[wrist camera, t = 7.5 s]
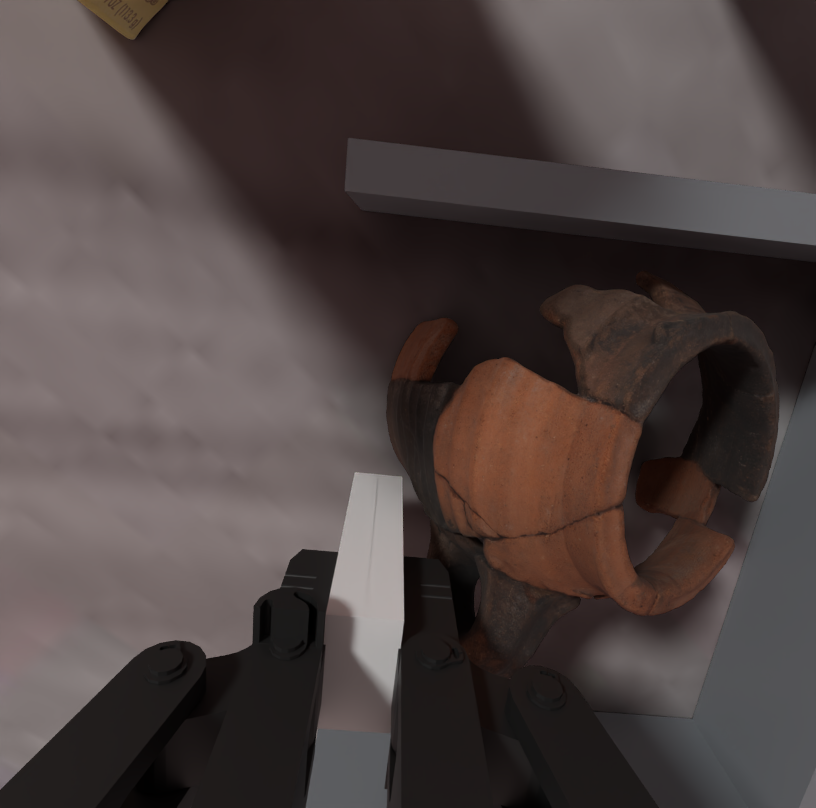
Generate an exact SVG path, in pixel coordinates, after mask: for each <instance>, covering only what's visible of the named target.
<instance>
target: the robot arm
mask: <svg viewBox="0 0 816 808" xmlns="http://www.w3.org/2000/svg"><path fill="white" fill-rule="evenodd" d="M450 586H451V585H450V579H449V572H448V571H447V569H446V568H445V567H444V566H443V564H442V563H441V562H440V560H439V559H428V558H416V557H405V556H403V493H402V476H391V475H380V474H369V473H358V472H355V474H354V479H353V484H352V489H351V494H350V498H349V503H348V508H347V513H346V518H345V523H344V528H343V533H342V537H341V542H340V547H339V552H329V551H317V550H305V549H302V550H301V551H300V552H299V553H298V554H297V555H296V556H294V557H293V558H292V559H291V560H290V562H289V565H288V568H287V571H286V573H285V576H284V579H283V582H282V585H281V587H280V589H276V590H273V591H270V592H268V593H267V594H265V595H263V596H262V597H260V598H259V600H258V601H257V602H256V604H255V605H254V613H253V643H252V645H251V646H249V647H248V648H246V649H244V650H241V651H239V652H237V653H233V654H229V655H225V656H219V657H213V658H207V659H206V655H205V653H204V652H203V651H202V649H201V648H200V647H199V646H197V645H195V644H193V643H191V642H186V641H177V640H175V641H169V642H163V643H159V644H157V645H154V646H152V647H149V648H147V649H145V650H144V651H142V652H141V653H140V654H138V655H137V656H136V657H134V658H133V659H132V660H131V661H130V662H129V663H128V664H127V665H126V666H125V667H124V668H123V669H122V670H121V671H120V672H119V673H118V674H117V675H116V676H115V677H114V678H113V679H112V680H111V681H110V682H109V683H108V684H107V685H106V686H105V687H104V688H103V689H102V690H101V691H100V692H99V693H98V694H97V695H96V696H95V697H94V698H93V699H92V700H91V701H90V702H89V703H88V704H87V705H86V706H85V707H84V708H83V709H82V710H81V711H80V712H79V713H78V714H76V715H75V716H74V717H73V718H72V719H71V720H70V721H69V722H68V723H67V724H66V725H65V726H64V727H63V728H62V729H61V730H60V731H59V732H58V733H57V734H56V735H55V736H54V737H53V738H52V739H51V740H50V741H49V742H48V743H47V744H46V745H45V746H44V747H43V748H42V749H41V750H40V751H39V752H38V753H37V754H36V755H35V756H34V757H33V758H32V759H31V760H30V761H29V762H28V763H27V764H26V765H25V766H24V767H23V768H22V769H21V770H20V771H19V772H18V773H17V774H16V775H15V776H14V777H13V778H12V779H11V780H10V781H9V782H8V783H7V784H6V785H5V786H4V787H3V788H2V789H1V790H0V808H306V802H307V796H308V791H309V785H310V779H311V773H312V767H313V761H314V755H315V742H316V732H317V729H332V730H346V731H360V732H375V733H389V734H390V731H391V739H390V747H389V755H388V763H387V771H386V779H385V787H384V789H387V808H659V807H658V805H657V804H656V802H655V801H654V800H653V798H652V797H651V795H650V794H649V792H648V791H647V789H646V788H645V786H644V785H643V784H642V782H641V781H640V779H639V778H638V776H637V775H636V773H635V772H634V770H633V769H632V768H631V766H630V765H629V763H628V762H627V760H626V759H625V757H624V756H623V754H622V753H621V752H620V750H619V749H618V747H617V746H616V744H615V743H614V741H613V740H612V738H611V737H610V736H609V734H608V733H607V731H606V730H605V728H604V727H603V725H602V724H601V722H600V721H599V720H598V718H597V717H596V715H595V714H594V712H593V711H592V709H591V708H590V706H589V705H588V704H587V702H586V701H585V699H584V698H583V696H582V695H581V693H580V692H579V690H578V689H577V688H576V687H575V686H574V685H573V684H572V683H571V682H570V680H569V679H567V678H566V677H564V676H563V675H561V674H560V673H558V672H556V671H554V670H551V669H548V668H545V667H542V666H527V667H523V668H520V669H518V670H517V671H516V672H515V673H514V674H513V675H512V676H511V679H507V678H504V677H501V676H498V675H495V674H492V673H490V672H488V671H485V670H483V669H481V668H480V667H478V666H477V665H475V664H474V663H473V662H471V661H470V660H469V658H468V655H467V653H466V651H465V649H464V648H463V647H462V646H461V645H460V643H459V637H458V631H457V624H456V618H455V611H454V605H453V600H452V592H451V588H450Z"/></svg>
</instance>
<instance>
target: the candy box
mask: <svg viewBox="0 0 816 808" xmlns="http://www.w3.org/2000/svg"><path fill="white" fill-rule="evenodd" d="M78 1H79V2H80V3H82V4H83V5H84V6H86V7H87V8H88V9H90V10H91V11H92V12H93V13H95V14H96V15H97V16H99V17H100V18H101V19H102V20H104V21H105V22H106V23H108V24H109V25H110V26H111V27H113V28H114V29H115V30H117V31H118V32H119V33H121V34H122V35H123V36H125V37H126V38H127V39H131V40H133V39H135V38H136V37H137V35H138V34H139V32H140V31H141V30H142V28H143V27H144V26H145V25H146V24H147V23H148V22H149V21H150V19H151V18H152V17H153V16H154V15H155V14H156V13H157V12H158V11H160V9H161V8H162V7H163V6H164V5H165V4H166V3H167V2H168V1H169V0H78Z"/></svg>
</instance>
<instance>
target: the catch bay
mask: <svg viewBox="0 0 816 808" xmlns="http://www.w3.org/2000/svg"><path fill="white" fill-rule="evenodd" d="M344 191H345V192H346V193H347V194H348V195H349V196H350V198H351V199H352V200H353V201H354V202H355V203H356V204H357V205H358V207H359V208H360V209H361V210H364V211H372V212H381V213H390V214H399V215H407V216H416V217H425V218H434V219H442V220H451V221H460V222H468V223H477V224H486V225H495V226H503V227H512V228H521V229H530V230H538V231H547V232H556V233H565V234H573V235H582V236H591V237H599V238H608V239H617V240H626V241H634V242H643V243H652V244H661V245H669V246H678V247H687V248H696V249H704V250H713V251H722V252H730V253H739V254H748V255H757V256H765V257H774V258H783V259H792V260H800V261H809V262H816V194H812V193H803V192H795V191H787V190H779V189H770V188H762V187H754V186H745V185H737V184H729V183H720V182H712V181H704V180H695V179H687V178H679V177H671V176H662V175H654V174H646V173H637V172H629V171H621V170H612V169H604V168H596V167H588V166H579V165H571V164H563V163H554V162H546V161H538V160H529V159H521V158H513V157H505V156H496V155H488V154H480V153H471V152H463V151H455V150H446V149H438V148H430V147H422V146H413V145H405V144H397V143H388V142H380V141H372V140H363V139H355V138H348V145H347V160H346V175H345V190H344ZM593 712H594V711H593ZM594 714H595V715H596V717H597V718H598V720H599V721H600V722H601V724H602V725H603V727H604V728H605V730H606V731H607V733H608V734H609V736H610V737H611V738H612V740H613V741H614V743H615V744H616V746H617V747H618V749H619V750H620V752H621V753H622V754H623V756H624V757H625V759H626V760H627V762H628V763H629V765H630V766H631V768H632V769H633V770H634V772H635V773H636V775H637V776H638V778H639V779H640V781H641V782H642V784H643V785H644V786H645V788H646V789H647V791H648V792H649V794H650V795H651V797H652V798H653V800H654V801H655V802H656V804H657V805H658V807H659V808H816V344H815V347H814V350H813V353H812V356H811V359H810V362H809V365H808V368H807V371H806V374H805V377H804V380H803V383H802V386H801V389H800V392H799V395H798V398H797V401H796V405H795V408H794V411H793V414H792V417H791V420H790V423H789V426H788V429H787V432H786V435H785V438H784V441H783V444H782V447H781V450H780V453H779V456H778V459H777V462H776V465H775V469H774V472H773V475H772V478H771V481H770V484H769V487H768V490H767V493H766V496H765V499H764V502H763V505H762V508H761V511H760V514H759V517H758V520H757V523H756V526H755V529H754V533H753V536H752V539H751V542H750V545H749V548H748V551H747V554H746V557H745V560H744V563H743V566H742V569H741V572H740V575H739V578H738V581H737V584H736V587H735V590H734V593H733V596H732V600H731V603H730V606H729V609H728V612H727V615H726V618H725V621H724V624H723V627H722V630H721V633H720V636H719V639H718V642H717V645H716V648H715V651H714V654H713V657H712V660H711V664H710V667H709V670H708V673H707V676H706V679H705V682H704V685H703V688H702V691H701V694H700V697H699V700H698V703H697V706H696V709H695V712H694V715H693V718H692V719H688V718H675V717H661V716H648V715H634V714H621V713H607V712H594ZM390 739H391V731H390V734H389V733H375V732H360V731H346V730H332V729H318V733H317V739H316V745H315V755H314V761H313V767H312V773H311V779H310V785H309V791H308V796H307V802H306V808H387V789H384V787H385V779H386V771H387V763H388V755H389V747H390Z"/></svg>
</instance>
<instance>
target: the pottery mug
mask: <svg viewBox="0 0 816 808" xmlns="http://www.w3.org/2000/svg"><path fill="white" fill-rule="evenodd" d="M636 283H637V285H639V286H640V287H641V288H642V289H644V290H645V291H646V292H647V293H648V294H649V295H650V296H651V298H652V300H650V299H649V298H647V297H645V296H643V295H639V294H635V293H633V292H631V291H628V290H623V289H611V290H596V289H594V288H591V287H589V286H586V285H580V284H577V285H572V286H569V287H567V288H566V289H564V290H562V291H560V292H558V293H556V294H554V295H552V296H550V297H548V298H547V299H546V300H545V301H544V302H543V303H542V304H541V306H540V313H541V314H542V316H543V317H544V318H545V319H546V320H547V321H549V322H550V323H552V324H554V325H555V326H557V327H559V328H562V329H563V333H564V340H565V342H566V343H567V346H568V348H569V351H570V353H571V356H572V359H573V362H574V364H575V374H576V380H577V385H578V394H573V393H571V392H569V391H568V390H566V389H565V388H563V387H562V386H560V385H558V384H556V383H554V382H551V381H549V380H547V379H545V378H543V377H541V376H540V375H538V374H536V373H534V372H533V371H531V370H529V369H527V368H525V367H523V366H522V365H521V364H519V363H518V362H516V361H515V360H513V359H511V358H508V357H503V358H500V359H492V360H487V361H485V362H483V363H480V364H478V365H476V366H475V367H474V368H473V369H472V371H471V372H470V373H469V375H468V376H467V377H466V379H465V381H464V383H463V384H462V385H461V386H460V385H457V384H455V383H453V382H445V383H431V379H432V377H433V375H434V373H435V371H436V368H437V365H438V364H439V362H440V360H441V358H442V356H443V354H444V353H445V351H446V350H447V348H448V346H449V345H450V343H451V342H452V340H453V338H454V337H455V336H456V334H457V332H458V325H457V324H456V323H455V322H454V321H453V320H451V319H449V318H439V319H437V320H431V321H424V322H422V323H420V324H419V325H418V326H416V328H415V329H414V331H413V332H412V333H411V335H410V336H409V337H408V339H407V340H406V342H405V344H404V346H403V348H402V350H401V352H400V354H399V356H398V359H397V361H396V364H395V367H394V370H393V373H392V379H391V382H390V384H389V388H388V395H387V410H386V417H387V424H388V430H389V436H390V440H391V443H392V446H393V449H394V451H395V453H396V455H397V457H398V459H399V461H400V462H401V463H402V465H403V466H404V468H405V469H406V471H407V473H408V475H409V477H410V479H411V481H412V485H413V487H414V490H415V492H416V494H417V496H418V498H419V500H420V501H421V503H422V504H423V507H424V512H425V514H426V515H427V516H428V517H429V518H431V520H430V526H431V540H430V545H429V550H428V555H427V558H428V559H439V560H440V562H441V563H442V564H443V566H444V567H445V568H446V569H447V571H448V572H449V579H450V585H451V586H450V588H451V592H452V600H453V605H454V611H455V618H456V624H457V631H458V637H459V643H460V645H461V646H462V647H463V648H464V649H465V651H466V653H467V655H468V658H469V660H470V661H471V662H473V663H474V664H475V665H477V666H478V667H480V668H481V669H483V670H485V671H488V672H490V673H492V674H495V675H498V676H501V677H504V678H507V679H509V678H510V677H511V676H512V675H513V674H514V673H515V672H516V671H517V670H518V669H520V668H522V667H523V666H524V665H525V663H526V662H527V661H528V660H529V659H530V658H531V656H532V655H533V654H534V653H535V651H536V650H537V648H538V646H539V645H540V643H541V641H542V640H543V638H544V637H545V636H546V634H547V632H548V631H549V629H550V628H551V627H552V625H553V624H554V623H555V622H556V621H557V620H558V619H559V618H560V617H562V616H563V615H565V614H566V613H568V612H570V611H572V610H573V609H575V608H577V607H578V605H579V604H580V601H581V599H580V597H582V598H586V599H591V598H593V597H594V598H595V599H605V598H612V599H613V600H615V601H616V602H617V603H618V604H619V605H620V606H621V607H622V608H623V609H625V610H627V611H629V612H632V613H634V614H636V615H640V616H645V615H650V616H653V615H657V614H664V613H666V612H669V611H671V610H673V609H676V608H678V607H680V606H682V605H684V604H685V603H686V602H688V601H690V600H691V599H693V598H694V597H695V596H696V594H697V593H698V592H699V591H701V590H703V589H704V588H705V586H706V585H707V584H708V583H709V582H710V581H711V580H712V579H713V578H714V577H715V576H716V574H717V573H718V572H719V571H720V570H721V569H722V568H723V566H724V565H725V564H726V562H727V560H728V559H729V557H730V556H731V554H732V552H733V550H734V548H735V544H734V540H733V539H732V538H731V537H729V536H727V535H725V534H721V533H718V532H716V531H713V530H711V529H709V528H707V527H706V523H707V521H708V519H709V517H710V516H711V514H712V511H713V509H714V506H715V503H716V500H717V497H718V494H719V491H720V488H721V485H722V486H723V487H724V488H727V489H728V490H729V491H731V492H732V493H734V494H736V495H739V496H740V497H742V498H743V499H745V500H747V501H749V502H754V501H757V499H758V498H759V496H760V494H761V491H762V490H763V488H764V486H765V484H766V482H767V478H768V474H769V470H770V468H771V463H772V459H773V456H774V449H775V444H776V440H777V433H778V420H779V393H778V383H777V381H776V368H775V363H774V354H773V352H772V351H771V349H770V348H769V347H768V344H767V341H766V338H765V336H764V333H763V332H762V331H761V330H760V329H759V327H758V326H757V325H756V324H755V323H754V322H753V320H751V319H750V318H748V317H746V316H742V315H740V314H738V313H737V312H735V311H725V312H720V313H706V312H705V311H704V310H703V308H702V307H701V306H700V305H699V303H698V302H697V301H695V300H693V299H692V298H690V297H689V296H688V295H686V294H685V293H684V292H683V291H681V290H680V289H678V288H677V287H676V286H675V285H673V284H672V283H670V282H668V281H666V280H664V279H661V278H659V277H657V276H655V275H653V274H651V273H649V272H647V271H641V272H639V273H638V274H637V276H636ZM697 355H698V360H699V367H700V372H701V379H702V388H703V391H702V396H703V403H702V408H701V410H700V414H699V417H698V420H697V422H696V424H695V426H694V428H693V430H692V433H691V434H690V437H689V440H688V442H687V444H686V446H685V448H684V450H683V453H682V456H681V457H676V458H674V457H665V458H661V459H652V460H648V461H646V462H644V463H643V464H642V466H641V469H640V474H639V478H638V481H637V487H636V493H635V495H636V503H637V504H638V505H639V506H640V507H641V508H642V509H644V510H646V511H648V512H650V513H663V514H666V515H669V516H671V517H673V518H676V519H677V520H676V521H675V523H674V525H673V528H672V529H671V530H670V532H669V533H668V534H667V536H666V537H665V538H664V540H663V541H662V542H661V543H660V545H659V546H658V547H657V549H656V550H655V551H654V553H653V554H652V555H650V556H649V557H648V558H647V560H646V561H644V562H643V563H641V564H639V565H637V566H636V567H633V565H632V563H631V561H630V557H629V554H628V550H627V544H626V540H625V524H624V511H623V506H622V503H623V500H624V499H625V496H626V491H627V483H628V477H629V473H630V470H631V466H632V462H633V458H634V455H635V451H636V448H637V444H638V441H639V438H640V436H641V434H642V428H643V423H644V421H645V419H646V418H647V417H648V415H649V414H650V413H651V411H652V409H653V408H654V406H655V405H656V403H657V402H658V400H659V398H660V396H661V395H662V393H663V392H664V390H665V388H666V387H667V385H668V384H669V382H670V381H671V380H672V378H673V377H674V376H675V375H676V374H677V373H678V371H679V370H680V369H681V368H682V367H684V366H685V365H686V364H687V363H688V362H689V361H691V360H692V359H693V358H694V357H696V356H697ZM479 577H480V580H481V602H480V607H479V611H478V613H477V616H476V617H475V612H474V590H475V585H476V582H477V580H478V579H479Z"/></svg>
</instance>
